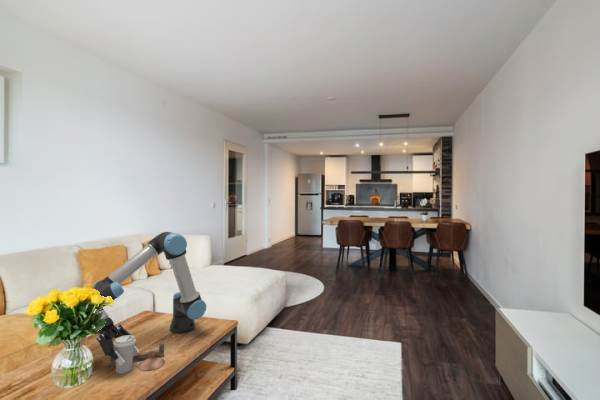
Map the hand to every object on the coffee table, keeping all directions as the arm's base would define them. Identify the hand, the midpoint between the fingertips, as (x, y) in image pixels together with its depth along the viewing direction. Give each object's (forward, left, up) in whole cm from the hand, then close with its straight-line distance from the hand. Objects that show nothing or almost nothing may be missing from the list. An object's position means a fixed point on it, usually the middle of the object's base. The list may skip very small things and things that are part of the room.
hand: (130, 358), depth 153 cm
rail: (-4, -3, -6) cm, 7 cm away
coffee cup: (+2, -2, -6) cm, 7 cm away
